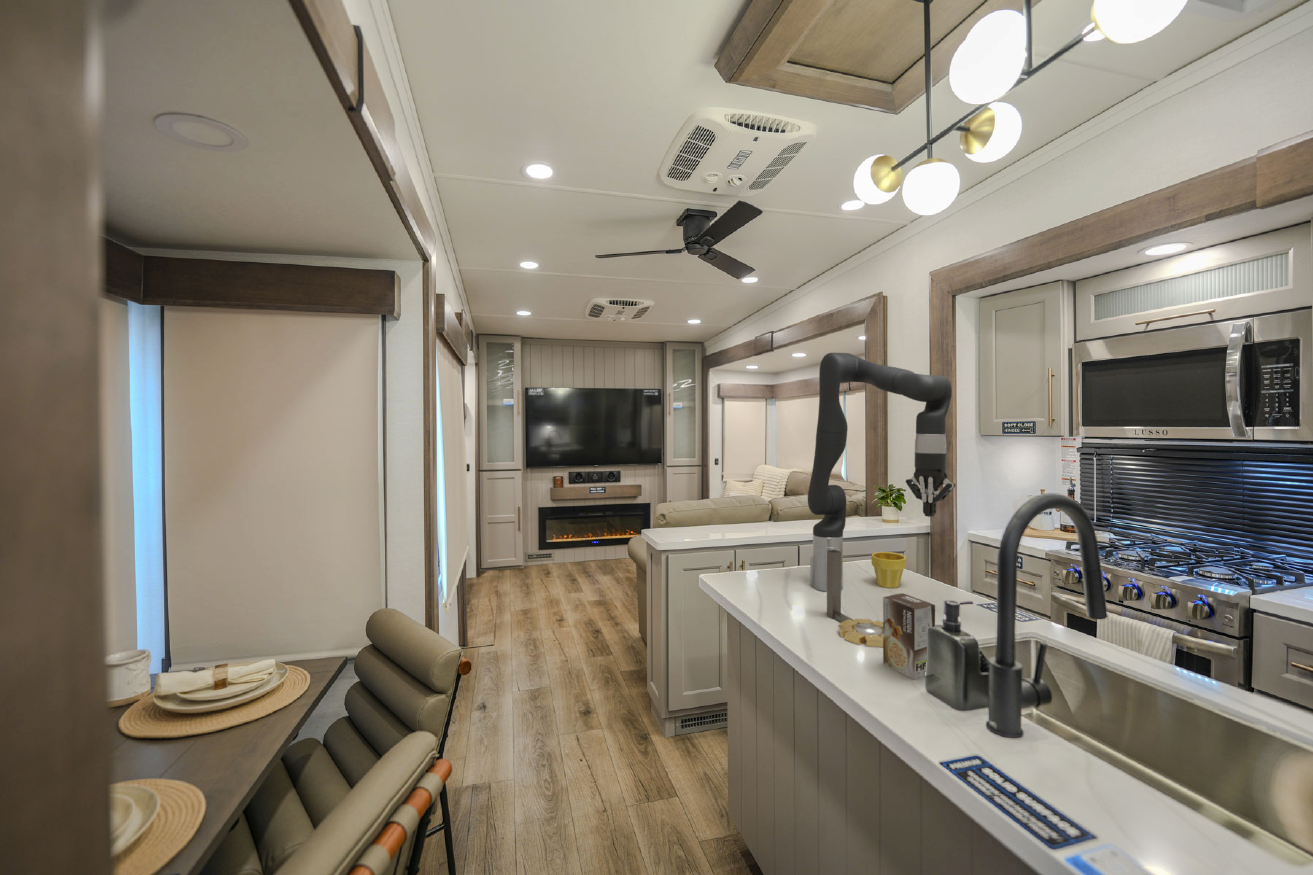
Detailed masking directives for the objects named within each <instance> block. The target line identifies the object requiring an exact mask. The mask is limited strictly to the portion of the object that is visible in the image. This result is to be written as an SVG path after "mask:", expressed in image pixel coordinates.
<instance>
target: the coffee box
mask: <svg viewBox="0 0 1313 875" xmlns="http://www.w3.org/2000/svg"><path fill="white" fill-rule="evenodd" d="M882 601H883V602H882V622H883V633H882V634H883V647H882V660H883V661H882V662H883V665H884V664H885V665H886V666H888V667H889V668H891V669H893V670H895V671H897V672H899V673H900V674H902V675H904V676H906V677H908V678H910V679H912V680H914V681H916V680H922V679H924V678H926V677H925V672H926V662H927V632H928V629H929V628H931V627H934V626H935V627H936V604H934V603H931V602H928V601H926V600H922V599H920V598H918V597H914V596H912V595H909V594H906V593H895V594H890V595H889V596H888V595H887V596H883V597H882Z"/></svg>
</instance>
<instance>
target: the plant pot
mask: <svg viewBox="0 0 1313 875" xmlns="http://www.w3.org/2000/svg"><path fill="white" fill-rule="evenodd" d="M906 561H907V557H906V556H905V555H904V554H901V553H898V552H897V553H896V552H891V551H890V552H889V551H879V552H878V551H877V552H873V553H872V554H871V566H872V567H873V569H874V574H875V578H876V583H877V586H879V587H882V588H886V589H896V588H899V586H900V584H901V582H902V576H903V572H904V570H905V569H906V565H907V562H906Z"/></svg>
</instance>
